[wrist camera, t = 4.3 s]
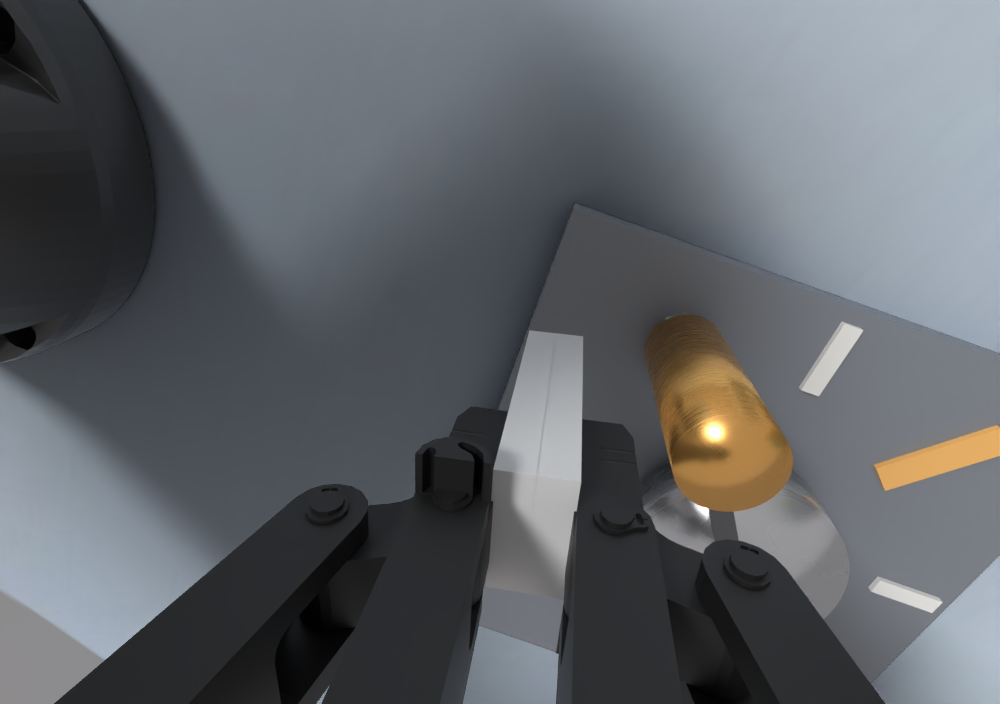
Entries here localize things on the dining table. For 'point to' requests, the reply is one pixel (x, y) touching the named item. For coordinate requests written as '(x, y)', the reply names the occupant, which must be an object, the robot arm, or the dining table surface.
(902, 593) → the panel
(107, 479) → the dining table surface
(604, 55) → the dining table surface
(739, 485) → the dial
